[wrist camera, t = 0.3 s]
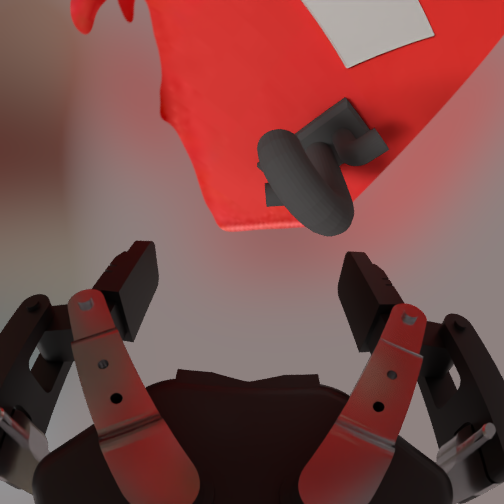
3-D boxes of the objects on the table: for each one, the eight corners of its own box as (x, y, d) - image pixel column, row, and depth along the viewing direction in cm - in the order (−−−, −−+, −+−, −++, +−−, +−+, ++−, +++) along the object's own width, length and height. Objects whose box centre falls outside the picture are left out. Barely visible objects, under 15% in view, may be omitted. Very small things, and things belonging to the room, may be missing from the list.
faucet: (314, 55, 29) (362, 99, 16) (378, 135, 37) (435, 225, 24) (220, 135, 39) (193, 229, 26) (290, 195, 47) (299, 296, 34)
